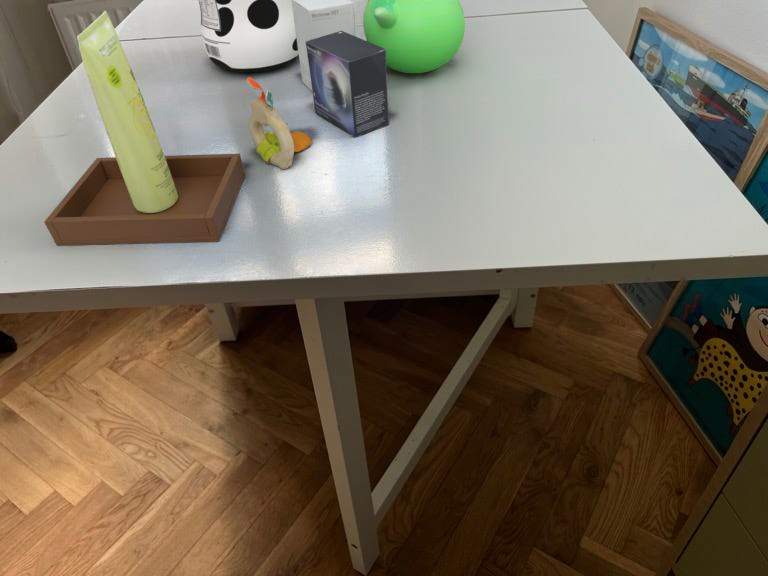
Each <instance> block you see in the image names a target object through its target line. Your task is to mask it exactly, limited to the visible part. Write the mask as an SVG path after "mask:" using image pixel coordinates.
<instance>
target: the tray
mask: <svg viewBox="0 0 768 576" xmlns="http://www.w3.org/2000/svg"><path fill="white" fill-rule="evenodd" d="M164 156H165V159H166V162H167V165H168V167H169V170H170V173H171V176H172V179H173V182H174V185H175V188H176V191H177V194H178V199H177V201H176V203H175V204H174V205H173V206H171V207H170V208H168V209H166V210H164V211H161V212H156V213H144V212H140V211H138V210H137V209H136V208H135V207H134V205H133V202H132V199H131V197H130V194H129V192H128V189H127V186H126V184H125V181H124V178H123V176H122V173H121V170H120V167H119V165H118V162H117V159H116V156H112V157H96V158H95V160H94V161H93V162H92V163H91V165H89V167H88V168H87V169H86V171H85V172H84V173H83V174H82V175H81V176H80V178H79V179H78V180H77V181H76V183H75V184H74V185H73V186H72V187H71V188H70V190H69V191H68V192H67V194H66V195H65V196H64V197H63V198H62V200H61V201H60V202H59V203H58V204H57V206H55V208H54V209H53V210H52V212H51V213H50V214H49V215H48V216H47V218H46V219H45V220H44V221H43V223H44V224H45V226H46V228H47V230H48V232H49V234H50V235H51V237H52V239H53V241H54V243H55V245H56V246H59V247H60V246H94V245H95V246H97V245H100V246H101V245H135V244H139V245H141V244H174V243H175V244H178V243H217V242H218V243H219V242H221V238H222V236H223V233H224V230H225V228H226V225H227V223H228V221H229V218H230V215H231V213H232V210H233V208H234V205H235V203H236V200H237V197H238V195H239V192H240V191H241V187H242V185H243V182H244V180H245V177H246V172H245V170H244V165H243V160H242V156H241V153H211V154H210V153H209V154H183V155H182V154H179V155H178V154H177V155H164Z"/></svg>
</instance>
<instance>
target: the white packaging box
mask: <svg viewBox="0 0 768 576" xmlns="http://www.w3.org/2000/svg"><path fill="white" fill-rule="evenodd" d="M291 1H292V8H293V16H294V23H295V30H296V38H297V45H298V53H299V56H298V60H299V67H300V74H301V81H302V83H303V84H304V85H305V86H306V87H307V88H308V89H309V90H310V91H311V92H312V93H313V91H312V84H311V77H310V70H309V63H308V56H307V48H306V43H305V42H306V41H309V40H312V39H316V38H319V37H322V36H325V35H329V34H332V33H335V32H339V31H344V32H346V33H348V34H351V35H353V36H356V35H357V34H356V21H355V20H356V19H355V5H354V4H355V3H354V2H353V1H352V0H291ZM356 37H357V36H356Z"/></svg>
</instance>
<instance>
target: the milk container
mask: <svg viewBox="0 0 768 576" xmlns="http://www.w3.org/2000/svg"><path fill="white" fill-rule="evenodd" d="M198 4H199V10H200V35H201V41H202V44H203V48H204V50H205V52H206V55H207V57H208V59H209V60H210V62H212V64H214V65H215V66H216V67H218V68H220V69H223V70H226V71H229V72H238V73H253V72H254V73H256V72H257V73H258V72H264V71H270V70H274V69H278V68H281V67H283V66H286V65H288V64H290V63H292V62H293V61H296V60H297V58H299V53H298V45H297V38H296V30H295V23H294V16H293V8H292V1H291V0H198Z"/></svg>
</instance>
